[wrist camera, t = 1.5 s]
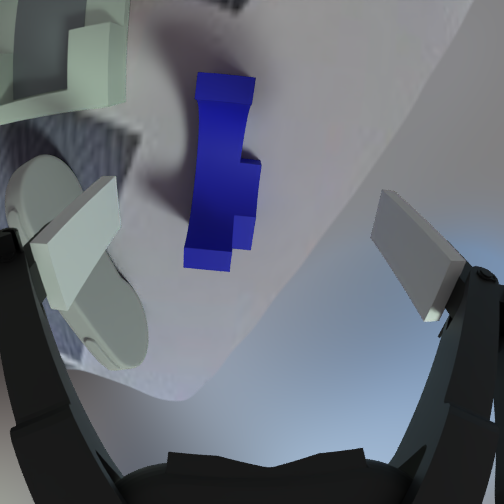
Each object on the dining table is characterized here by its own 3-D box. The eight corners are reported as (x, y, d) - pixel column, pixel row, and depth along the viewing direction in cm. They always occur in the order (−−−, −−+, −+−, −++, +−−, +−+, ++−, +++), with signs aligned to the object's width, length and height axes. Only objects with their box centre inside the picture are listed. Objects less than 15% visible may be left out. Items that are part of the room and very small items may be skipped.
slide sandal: (44, 152, 21) (-18, 190, 14) (63, 142, 21) (1, 176, 14) (136, 326, 31) (117, 391, 24) (155, 322, 31) (139, 389, 24)
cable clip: (249, 231, 26) (252, 273, 21) (193, 225, 25) (183, 267, 20) (272, 81, 20) (284, 81, 15) (208, 73, 19) (197, 72, 14)
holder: (-3, 122, 19) (-27, 132, 16) (11, -49, 10) (-10, -56, 7) (125, 102, 20) (108, 107, 17) (145, -93, 11) (133, -111, 8)
